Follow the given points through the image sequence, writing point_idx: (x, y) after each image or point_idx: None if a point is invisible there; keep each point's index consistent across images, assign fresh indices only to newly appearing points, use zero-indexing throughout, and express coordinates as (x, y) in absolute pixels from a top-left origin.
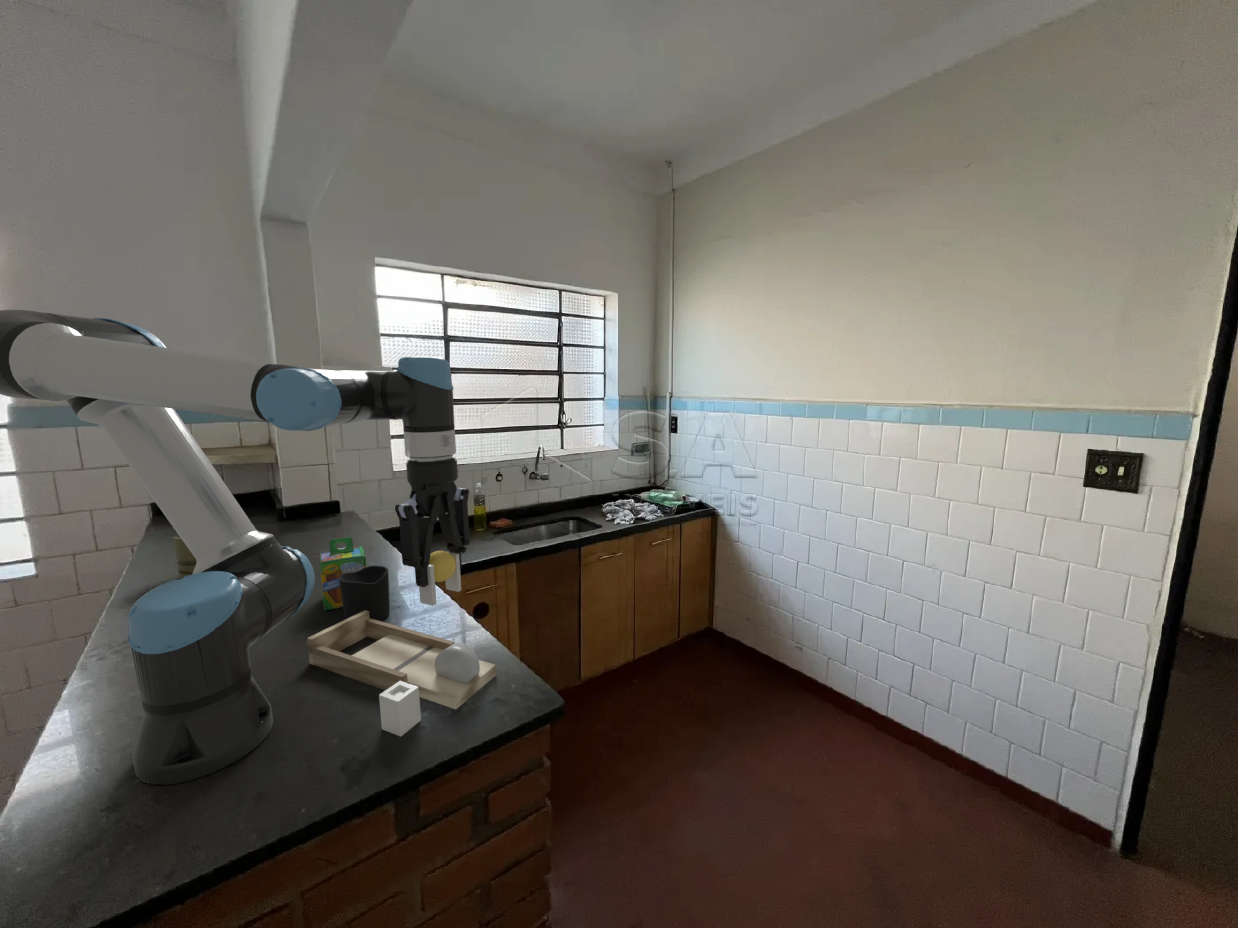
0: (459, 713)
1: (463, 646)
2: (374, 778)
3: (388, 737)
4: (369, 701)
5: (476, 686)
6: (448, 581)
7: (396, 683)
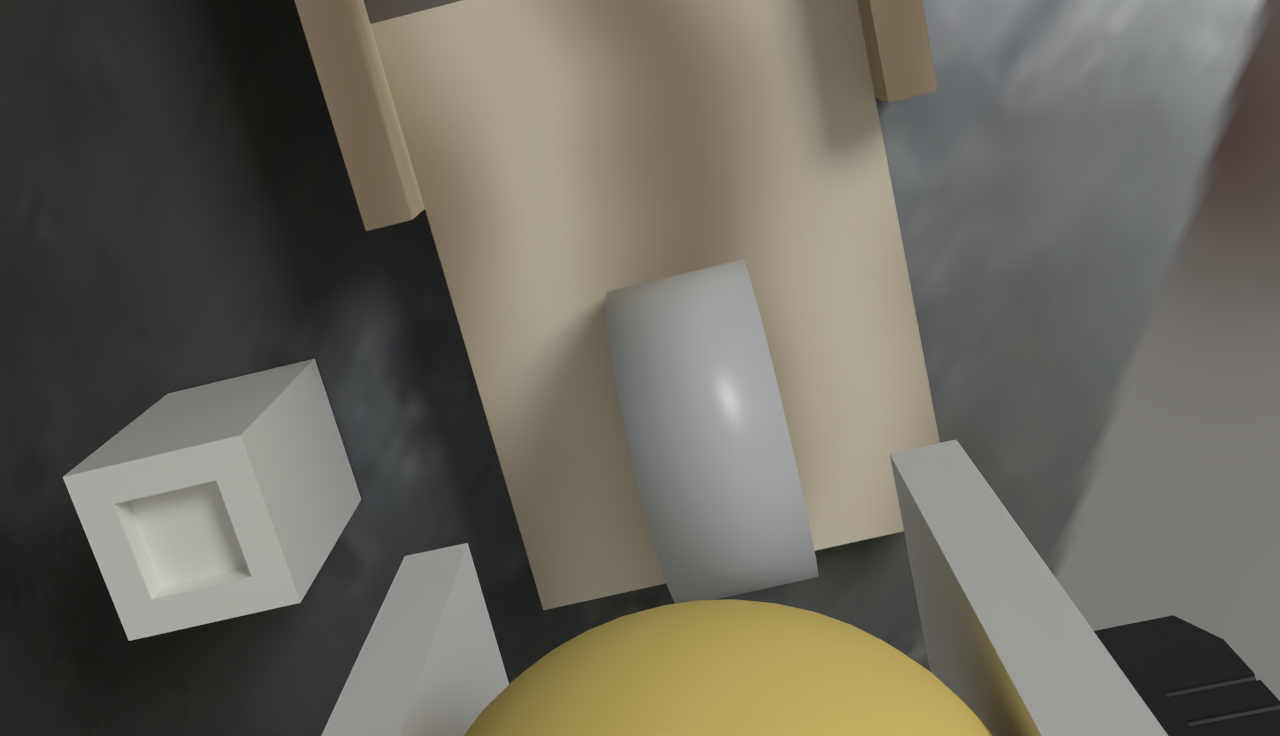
0: (544, 614)
1: (772, 521)
2: (8, 688)
3: None
4: (216, 63)
5: None
6: (928, 566)
7: (209, 445)
